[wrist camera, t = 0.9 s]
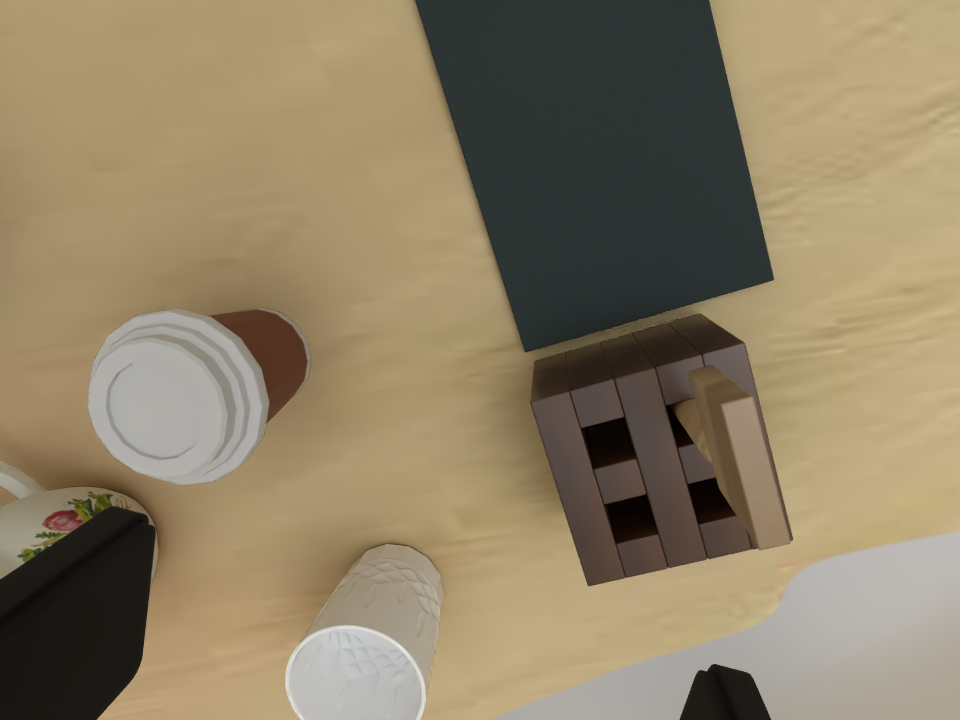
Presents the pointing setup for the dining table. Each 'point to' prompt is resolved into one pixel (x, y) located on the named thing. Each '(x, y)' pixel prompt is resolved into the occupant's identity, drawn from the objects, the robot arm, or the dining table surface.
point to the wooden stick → (735, 452)
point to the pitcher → (49, 516)
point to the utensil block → (639, 449)
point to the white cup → (370, 642)
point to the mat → (599, 156)
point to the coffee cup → (194, 389)
